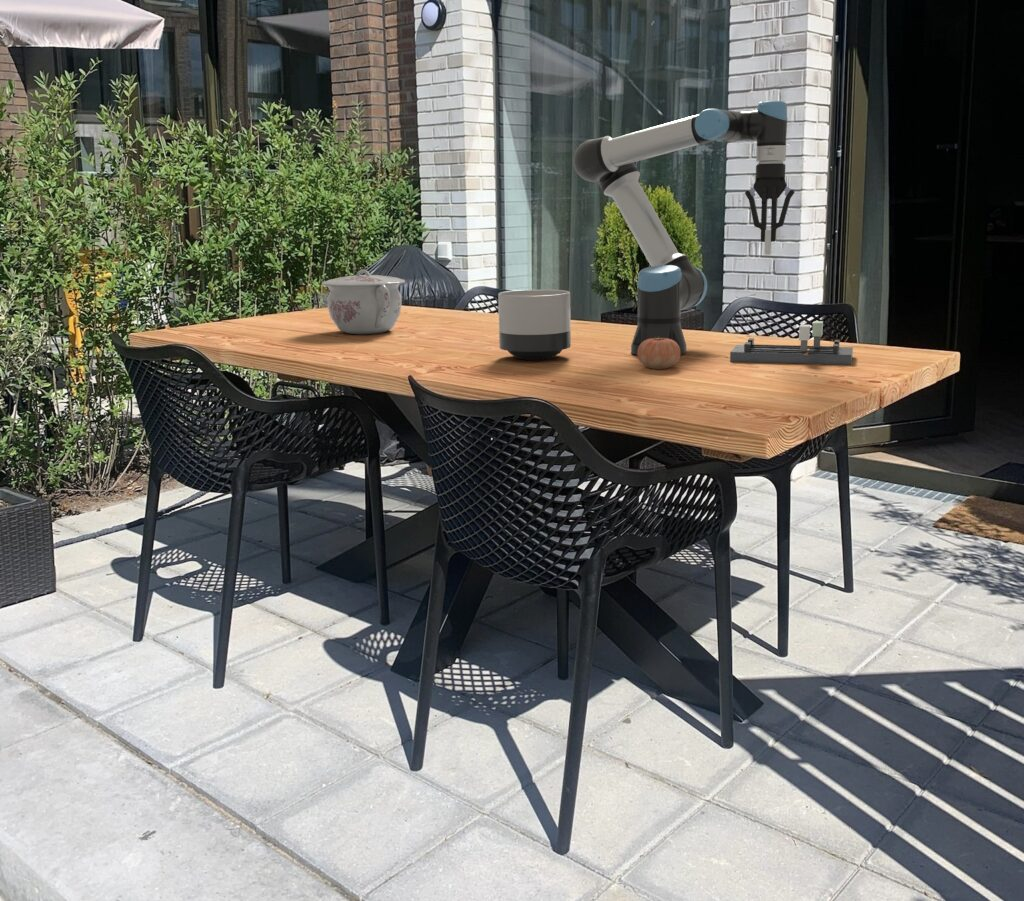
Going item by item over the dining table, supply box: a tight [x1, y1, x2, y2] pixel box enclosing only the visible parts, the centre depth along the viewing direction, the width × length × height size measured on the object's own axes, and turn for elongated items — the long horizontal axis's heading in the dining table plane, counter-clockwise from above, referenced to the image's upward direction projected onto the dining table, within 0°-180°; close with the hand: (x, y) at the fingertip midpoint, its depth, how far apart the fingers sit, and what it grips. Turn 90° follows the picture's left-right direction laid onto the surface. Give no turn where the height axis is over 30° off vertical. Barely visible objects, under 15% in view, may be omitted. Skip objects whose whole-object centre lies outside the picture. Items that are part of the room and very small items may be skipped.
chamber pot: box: [321, 268, 406, 336], centre depth 356 cm, size 28×28×21 cm
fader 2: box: [811, 320, 824, 347], centre depth 283 cm, size 2×4×6 cm, turn 162°
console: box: [729, 337, 854, 366], centre depth 281 cm, size 30×16×4 cm, turn 72°
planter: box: [497, 288, 572, 361], centre depth 292 cm, size 19×19×18 cm
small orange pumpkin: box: [636, 337, 681, 370], centre depth 272 cm, size 11×11×8 cm
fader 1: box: [798, 324, 811, 351], centre depth 276 cm, size 2×4×6 cm, turn 161°
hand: (767, 254), depth 289 cm, fingers closed
